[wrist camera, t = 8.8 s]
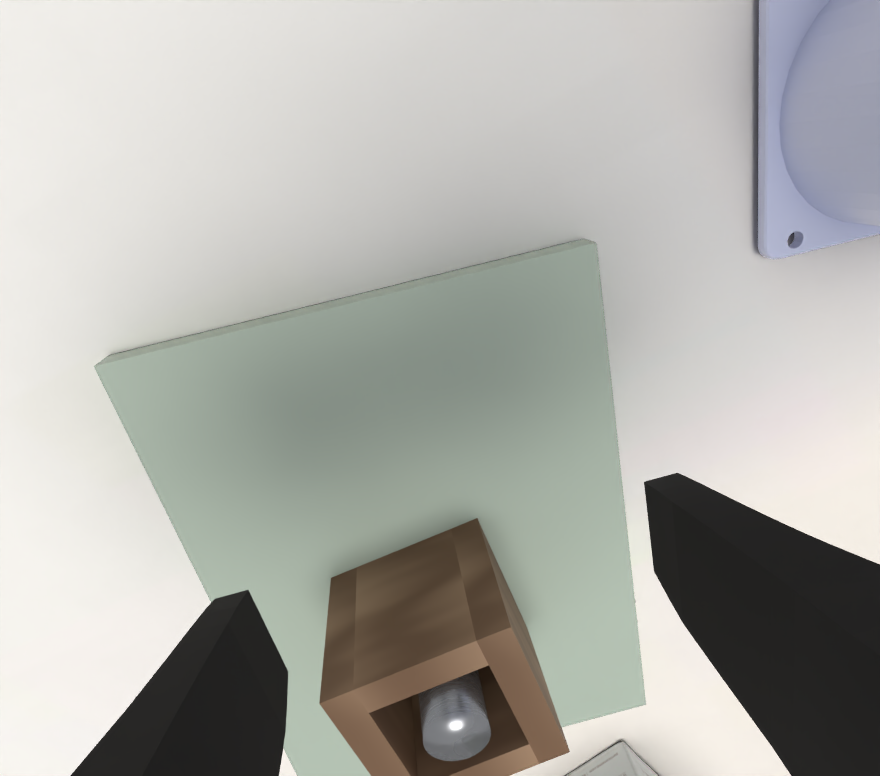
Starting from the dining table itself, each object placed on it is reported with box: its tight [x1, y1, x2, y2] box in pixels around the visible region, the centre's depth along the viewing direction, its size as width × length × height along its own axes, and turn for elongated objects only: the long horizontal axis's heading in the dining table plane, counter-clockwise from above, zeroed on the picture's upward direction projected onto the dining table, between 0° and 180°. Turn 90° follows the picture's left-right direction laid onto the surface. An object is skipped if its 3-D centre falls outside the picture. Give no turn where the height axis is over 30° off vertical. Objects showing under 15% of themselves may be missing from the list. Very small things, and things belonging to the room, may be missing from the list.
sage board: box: [94, 239, 646, 776], centre depth 21 cm, size 15×20×1 cm
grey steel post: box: [418, 670, 491, 761], centre depth 19 cm, size 2×2×5 cm
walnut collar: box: [319, 518, 570, 776], centre depth 18 cm, size 6×6×5 cm
